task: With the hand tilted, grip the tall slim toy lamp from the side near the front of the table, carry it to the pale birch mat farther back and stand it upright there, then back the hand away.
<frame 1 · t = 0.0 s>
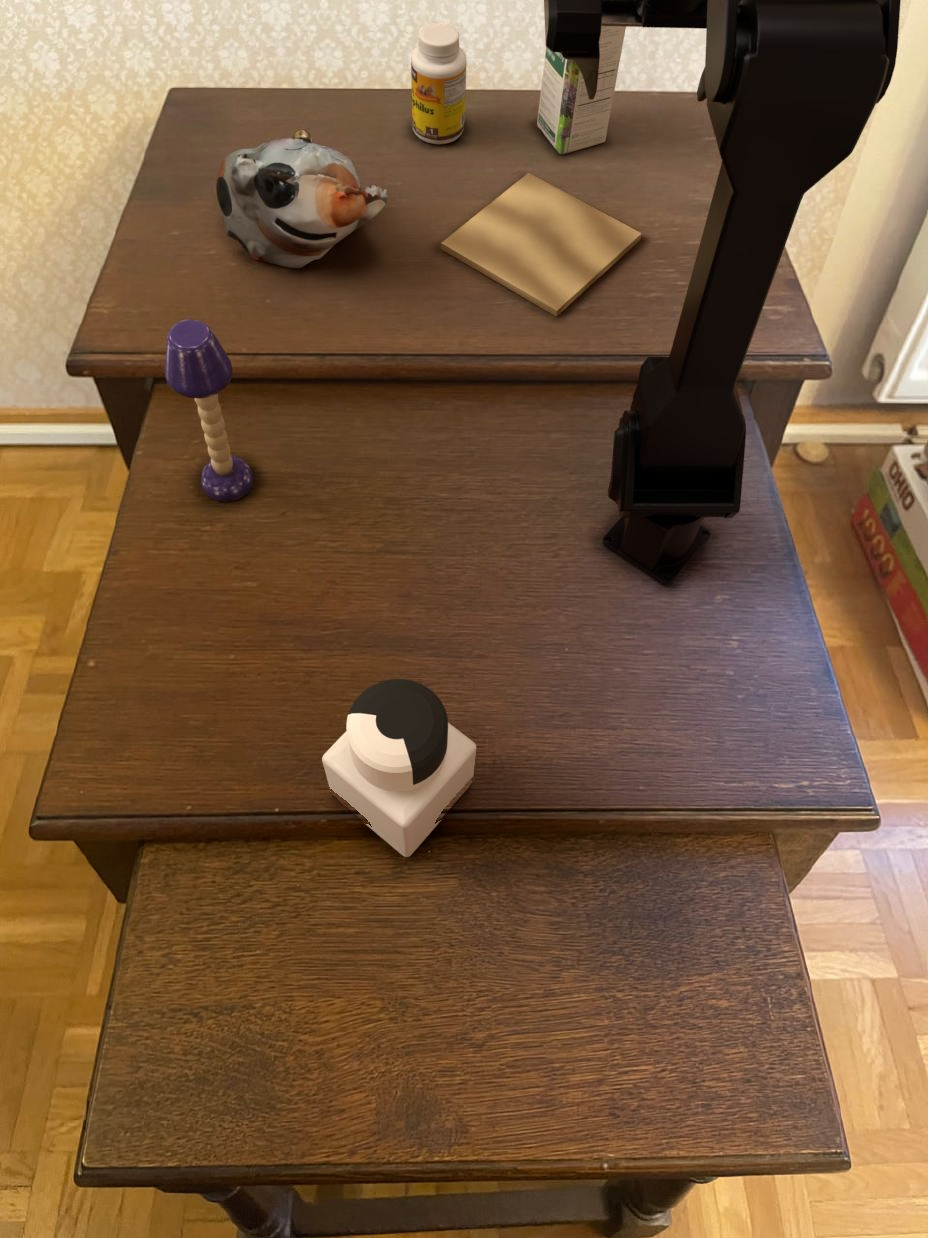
hand: (645, 95, 82), 15 cm above the table, tool pointing down, fingers open, 9 cm apart
toy lamp: (231, 485, 80), on the table
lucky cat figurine: (308, 237, 95), on the table
supplement bottle: (438, 132, 104), on the table
syrup box: (571, 135, 104), on the table
mat: (541, 244, 95), on the table
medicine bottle: (402, 790, 68), on the table
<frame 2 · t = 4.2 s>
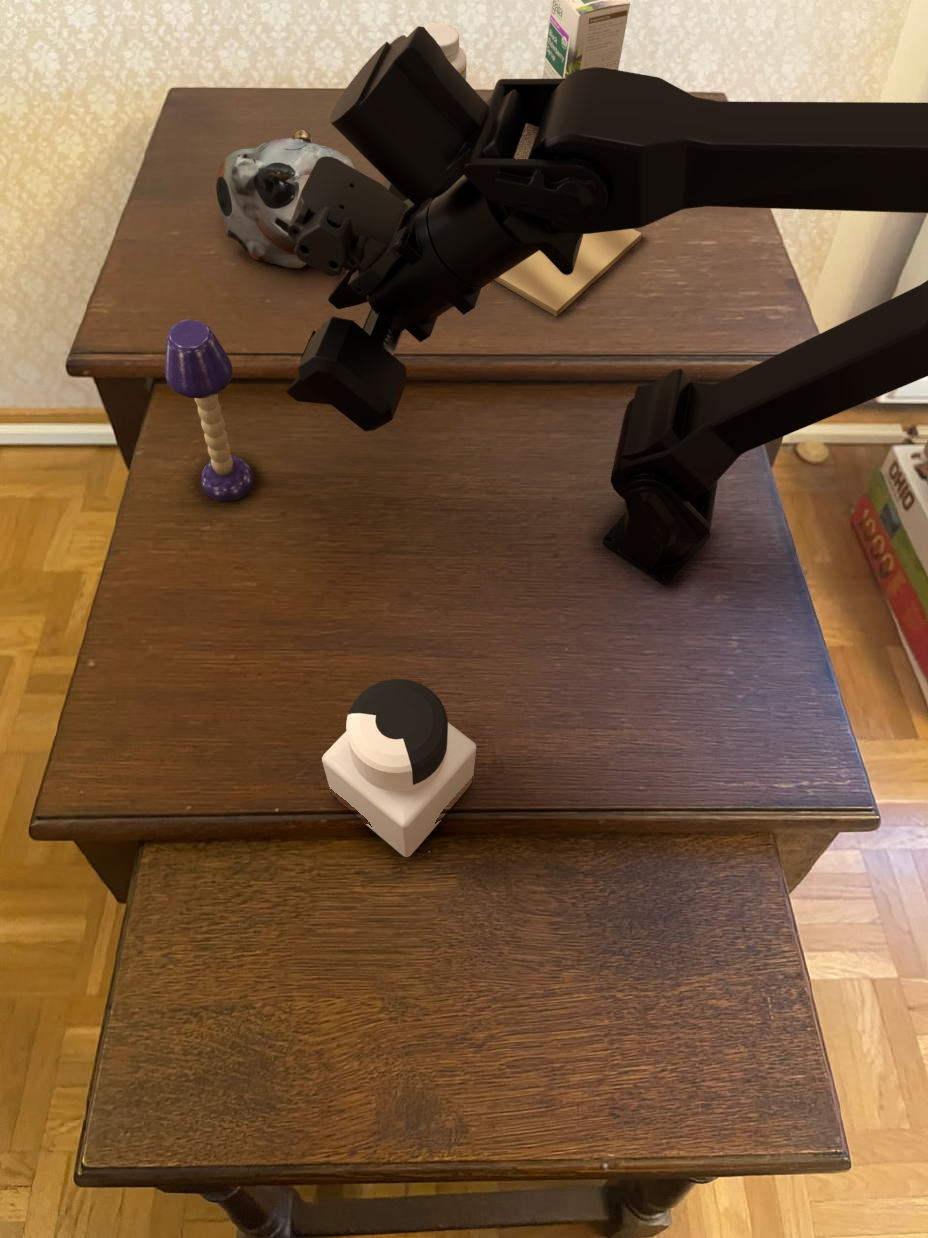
hand: (313, 347, 69), 14 cm above the table, tool tilted 45°, fingers open, 9 cm apart
nothing on the table moved.
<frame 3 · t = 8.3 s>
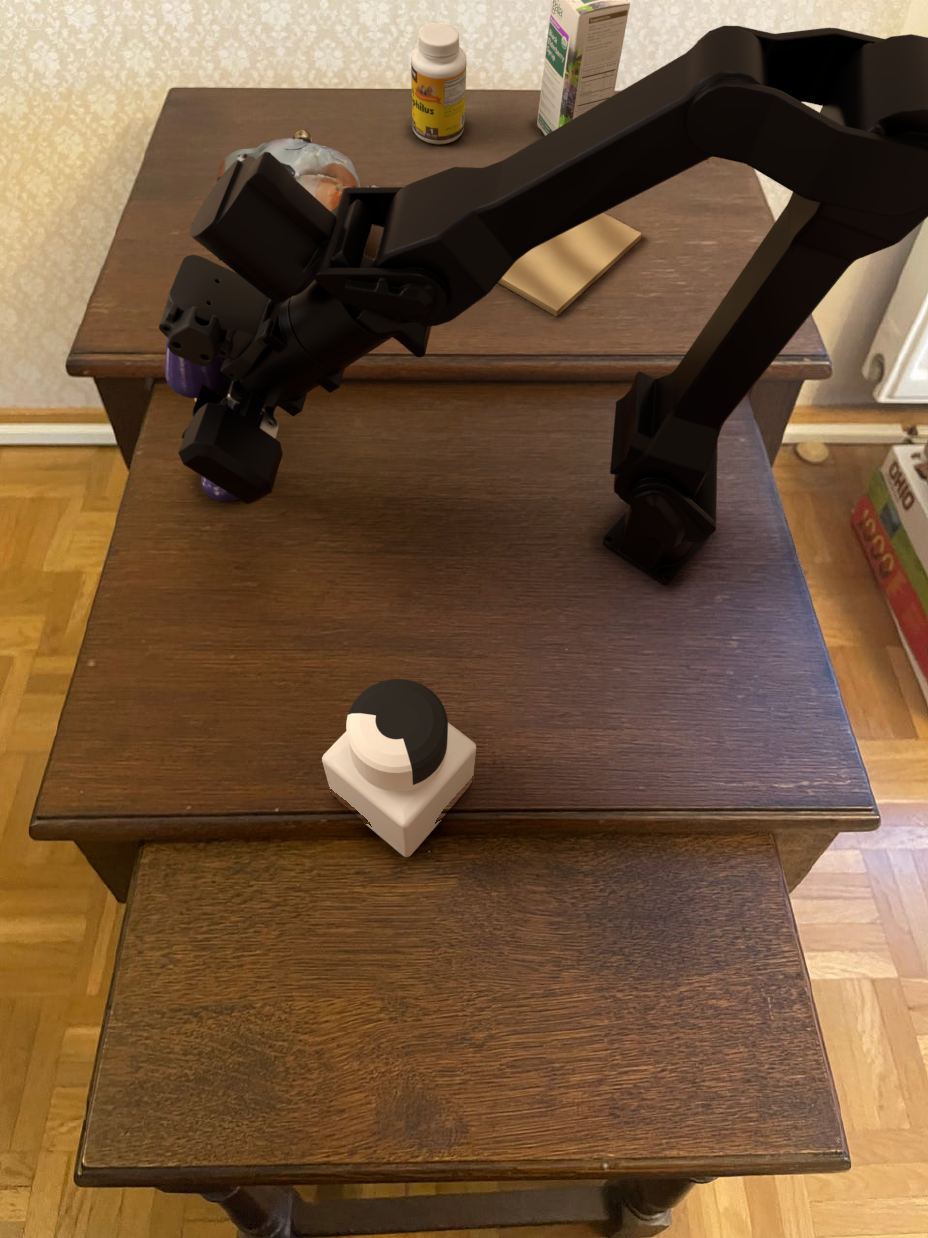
hand: (194, 419, 73), 8 cm above the table, tool tilted 45°, fingers closed on toy lamp, 3 cm apart
toy lamp: (231, 485, 80), on the table, touching gripper
everything else where it was.
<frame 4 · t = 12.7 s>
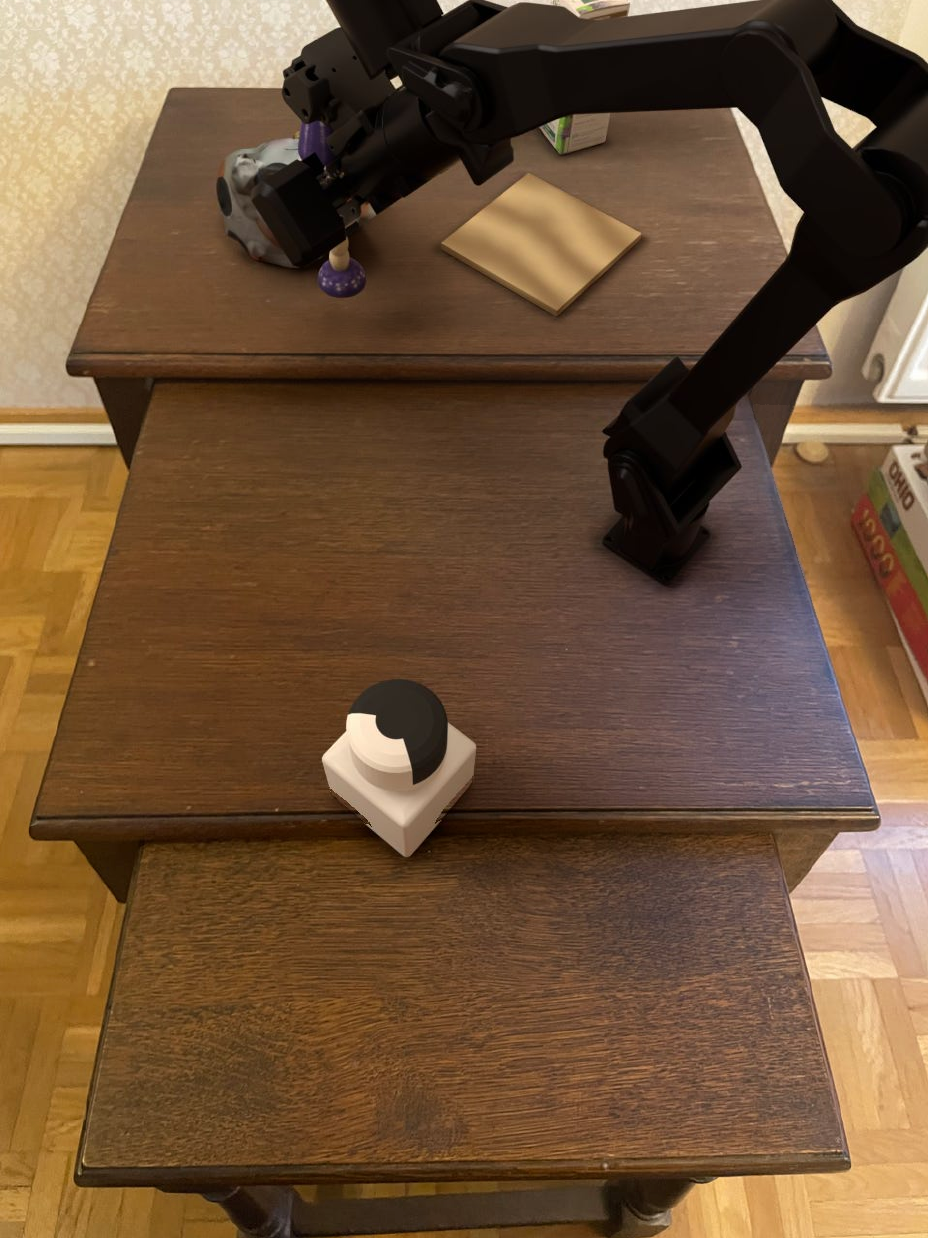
hand: (323, 201, 79), 12 cm above the table, tool tilted 45°, fingers closed on toy lamp, 3 cm apart
toy lamp: (343, 286, 85), point 4 cm above the table, touching gripper
everything else where it was.
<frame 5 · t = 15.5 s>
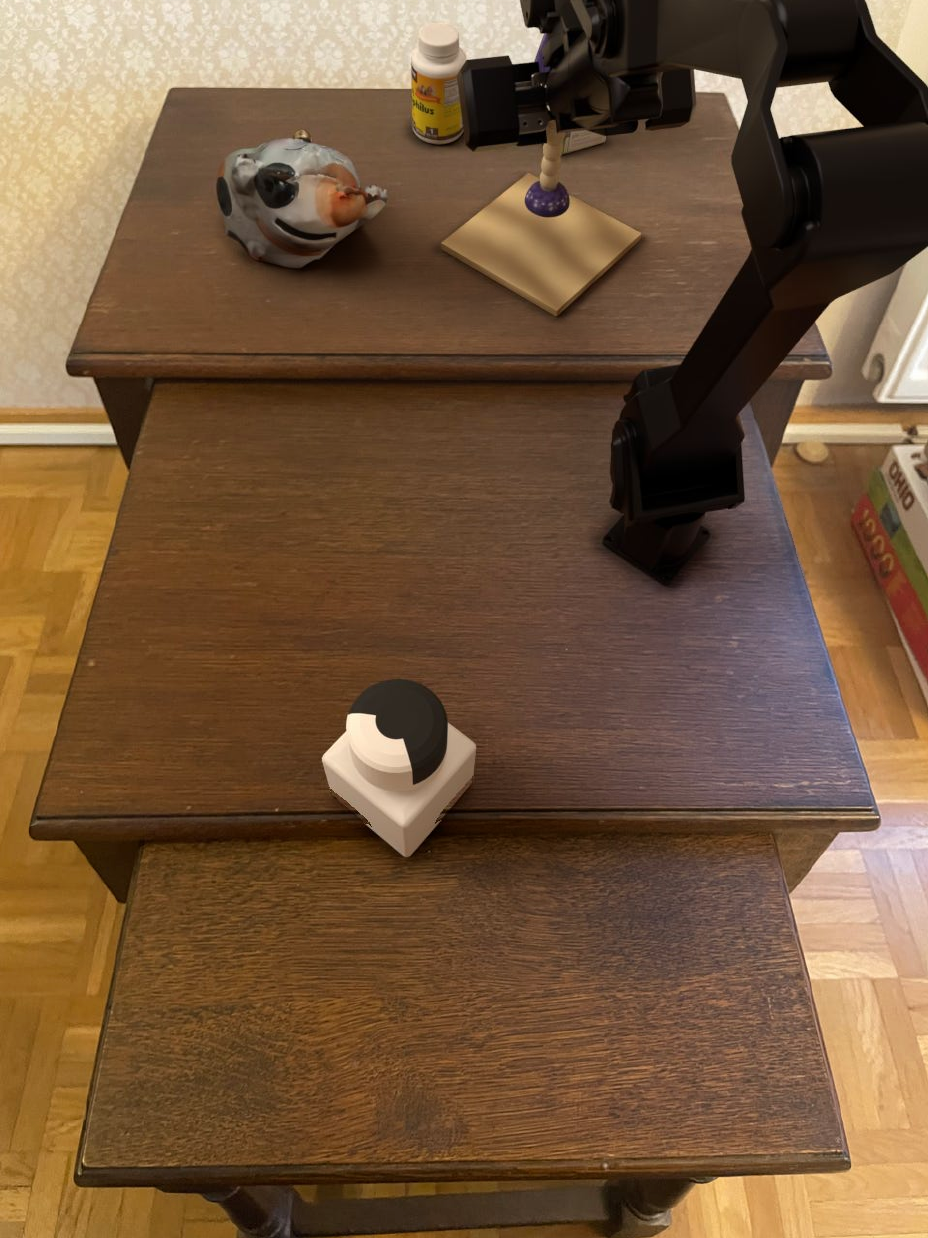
hand: (550, 120, 85), 12 cm above the table, tool tilted 45°, fingers closed on toy lamp, 3 cm apart
toy lamp: (545, 207, 91), point 4 cm above the table, touching gripper
everything else where it was.
when the fingers open (8 cm above the table, at t = 17.5 s): toy lamp stays where it is, resting on mat.
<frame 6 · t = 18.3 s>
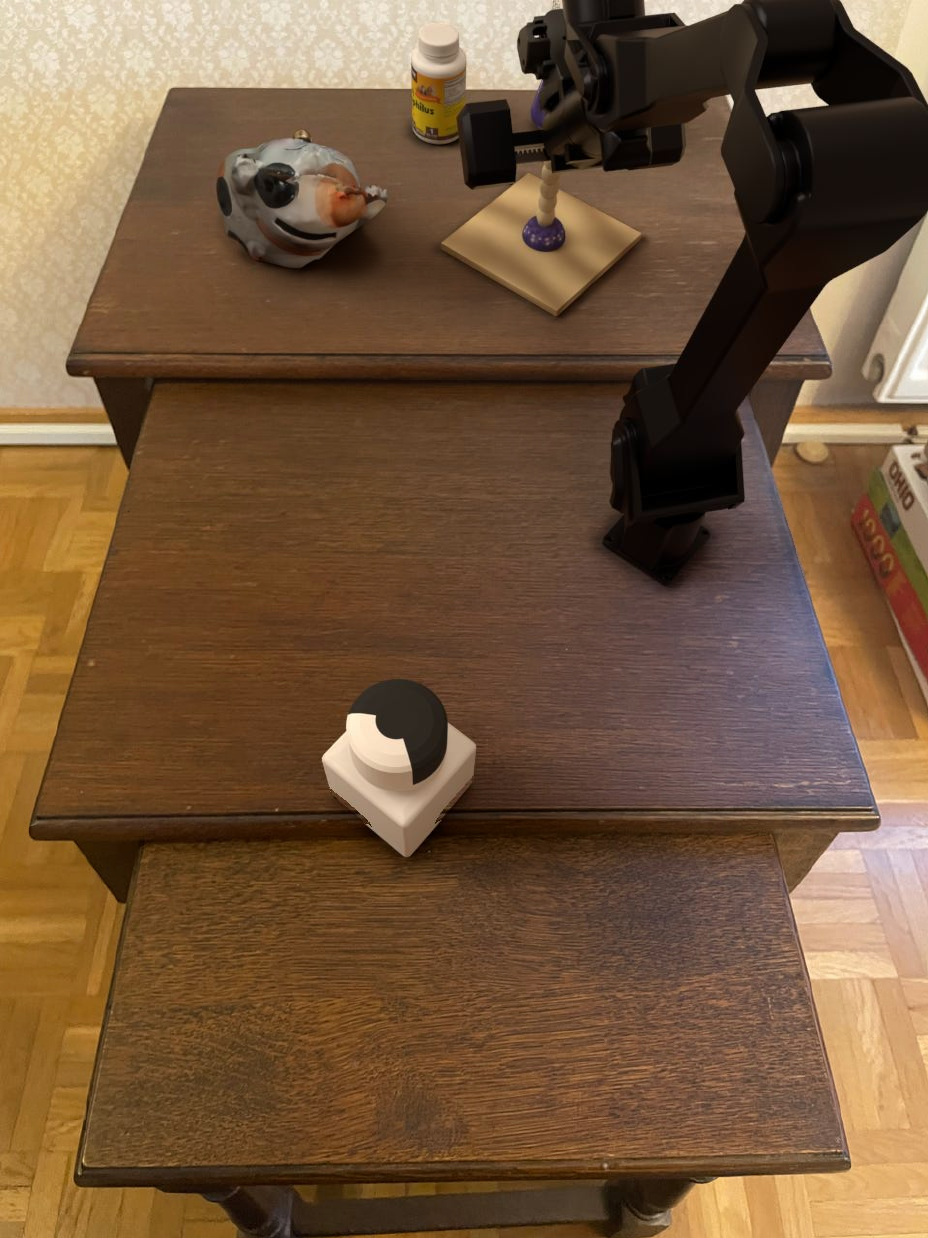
hand: (546, 155, 88), 9 cm above the table, tool tilted 45°, fingers open, 9 cm apart
toy lamp: (542, 241, 95), point 1 cm above the table, touching mat
everything else where it was.
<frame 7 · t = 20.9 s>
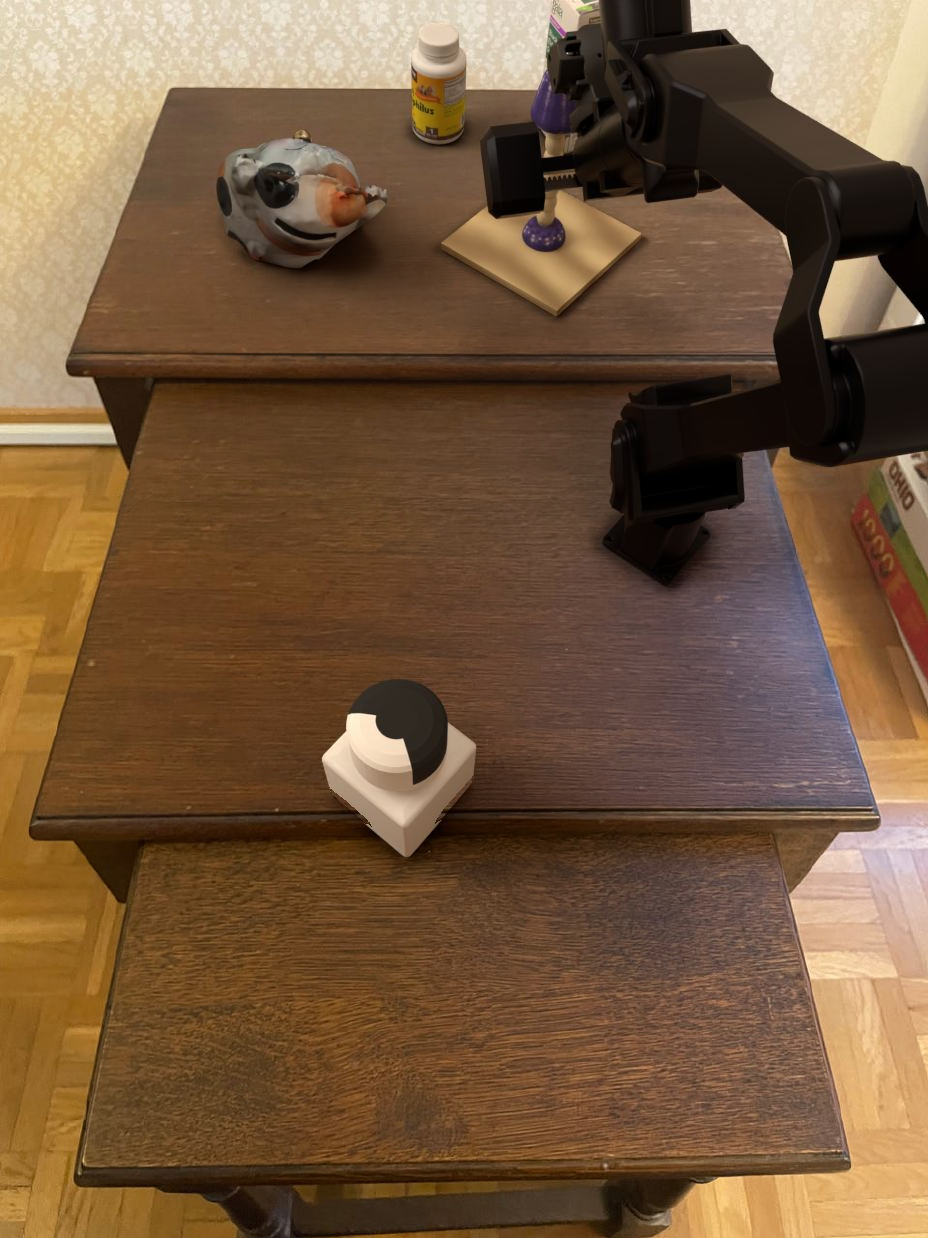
hand: (574, 179, 82), 12 cm above the table, tool tilted 45°, fingers open, 9 cm apart
nothing on the table moved.
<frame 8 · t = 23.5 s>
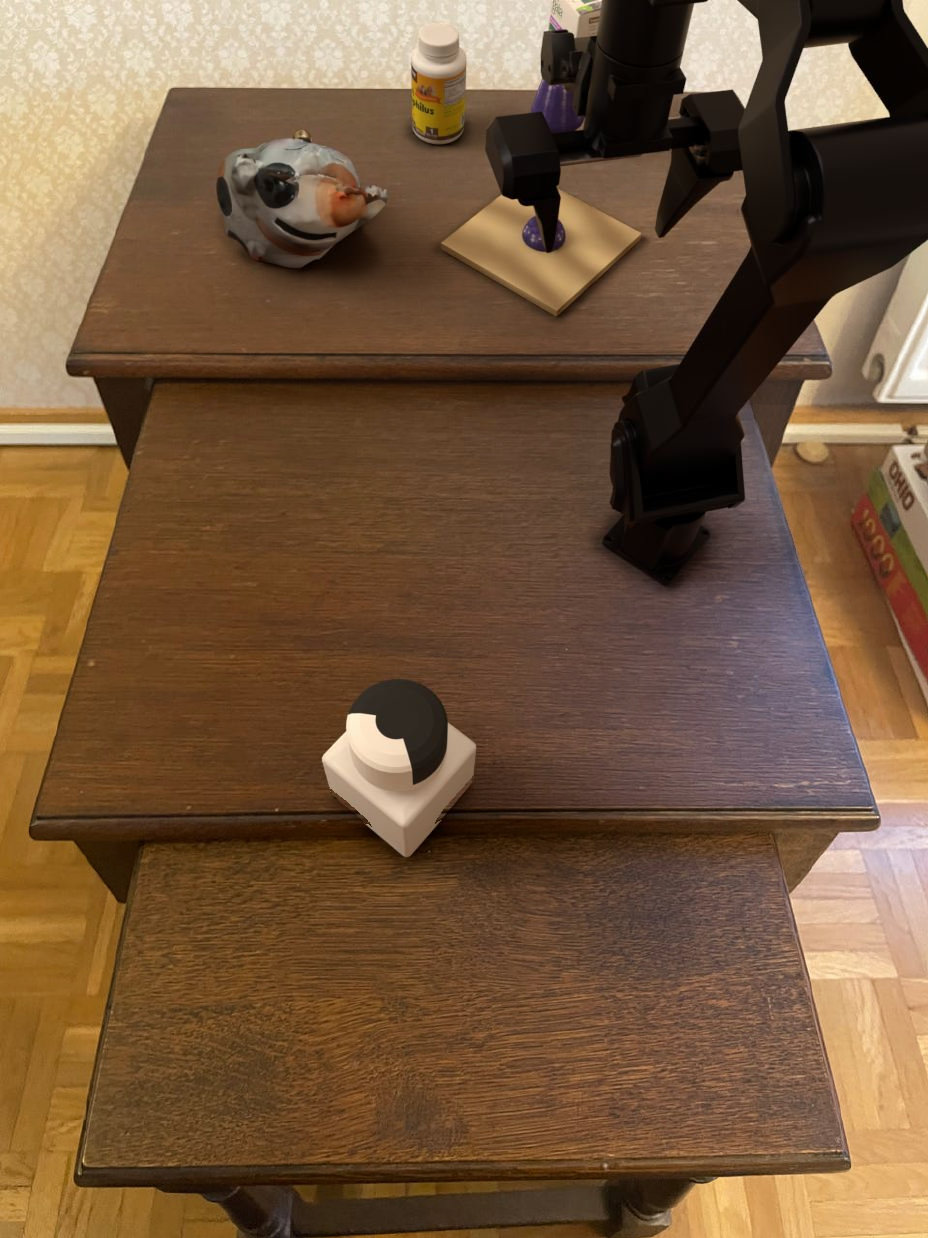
hand: (603, 241, 76), 13 cm above the table, tool pointing down, fingers open, 9 cm apart
nothing on the table moved.
at the end: toy lamp inside the target area on the mat (0.3 cm from its centre), point 0.6 cm above the mat's base; toy lamp tilted 0°; the gripper is holding nothing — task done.
